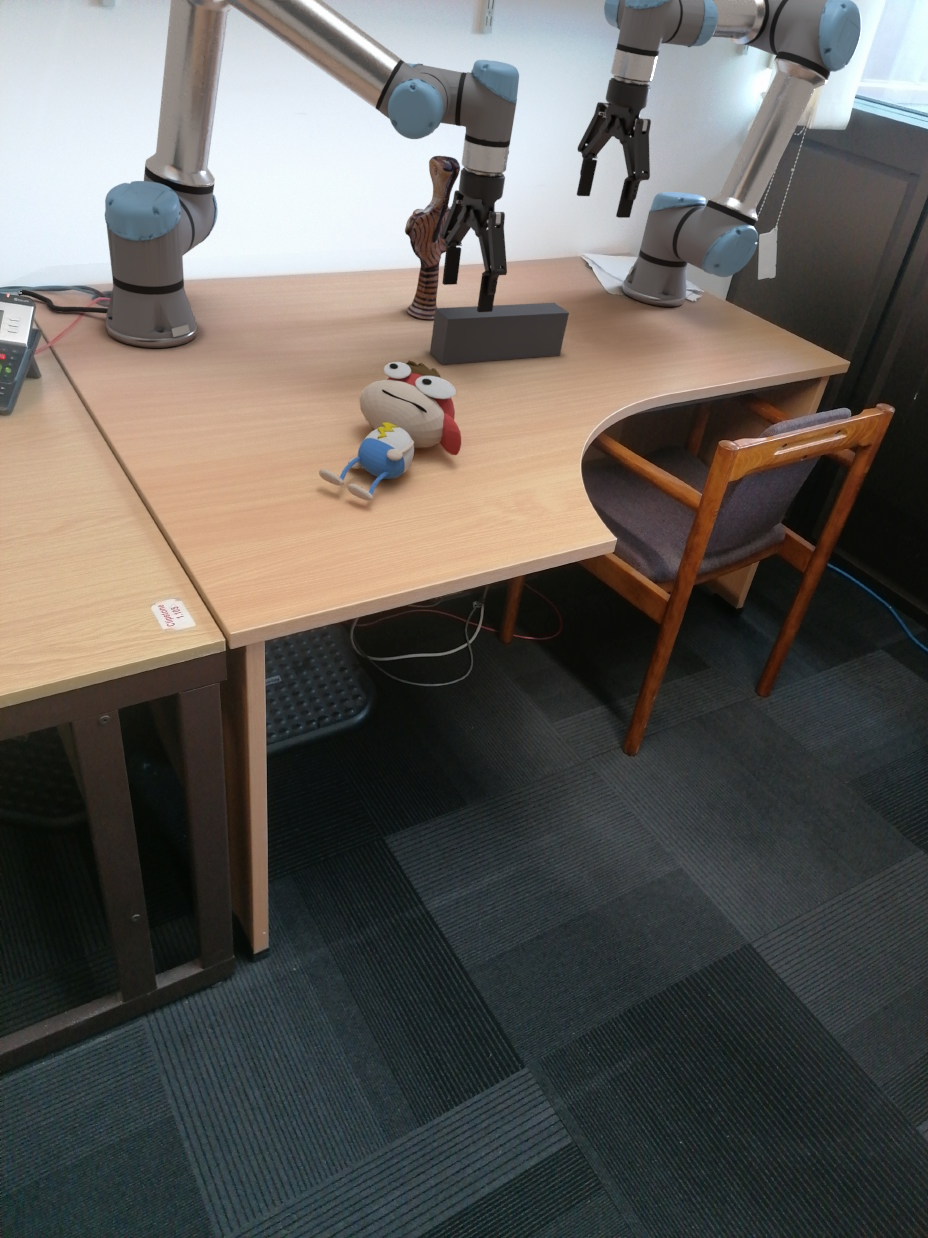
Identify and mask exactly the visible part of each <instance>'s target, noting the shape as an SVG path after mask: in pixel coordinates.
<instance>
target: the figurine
mask: <svg viewBox="0 0 928 1238" xmlns="http://www.w3.org/2000/svg"><path fill="white" fill-rule="evenodd" d="M428 171H429V176H430V179H431V182H432V196H431V197H432V199H431V200H430V202H429V204H427V205H426V206H425V208H416V209H414V210H413V212H412V214H410V216H409V218H408V219H407V221H406V223H405V224H406V225H405V228H404V233H405V235H407V236H408V237H409V242H410V247H411V248H412V251H413V253H414V254H415V255H414V256H416V257H417V258H418V259H419V262H420V269H419V273H418V278H417V279H418V280H417V285H416V291H415V294H414V297H413V299H412V302H411V303H410V305H409V306H408V307H407V308H406V311H407V314H409V315H411V316H413V317H416V318H418V319H421V320H422V319H423V320H434V316H435V308H438V307H437V296H438V290H439V289H438V288H439V277H440V262H441V258H442V255H443V254H444V253H445V254H446V246H445V240H444V239H441V232H442V229H443V227H444V224H445V222H446V219H447V216H448V214H449V211H450V208H451V206H449V203H450V198H451V194H452V191H453V188H454V185H455V183H456V181H457V179H458V178H459V176H460V172H461V165H460V163H459V161H458V159H457V158H455V157H452V156H446V155H434V156H432V157H431V158H430V159H429V161H428ZM448 232H451V231H448Z"/></svg>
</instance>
